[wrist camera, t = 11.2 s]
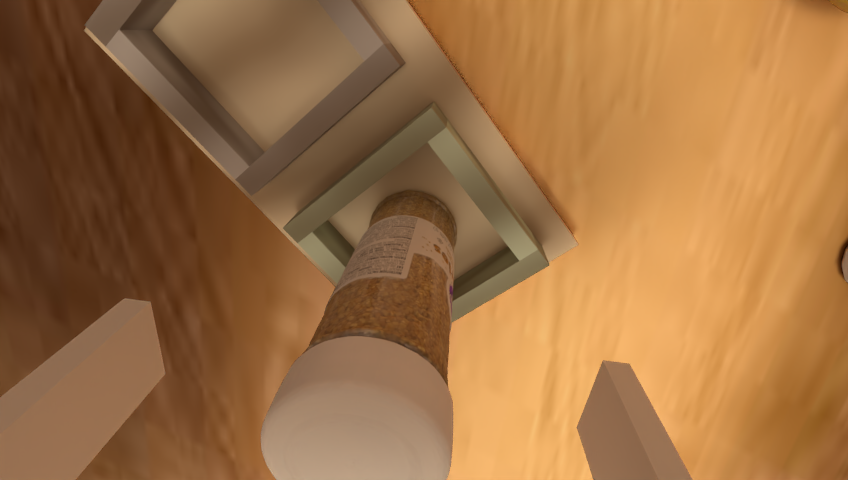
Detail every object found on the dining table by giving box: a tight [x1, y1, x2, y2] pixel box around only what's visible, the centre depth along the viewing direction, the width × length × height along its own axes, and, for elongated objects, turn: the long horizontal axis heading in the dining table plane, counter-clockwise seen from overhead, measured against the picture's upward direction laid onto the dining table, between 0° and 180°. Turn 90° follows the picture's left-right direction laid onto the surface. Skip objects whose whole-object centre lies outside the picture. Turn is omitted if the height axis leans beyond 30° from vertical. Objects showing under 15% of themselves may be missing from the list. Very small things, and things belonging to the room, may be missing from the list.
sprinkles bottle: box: [261, 190, 457, 480], centre depth 16 cm, size 5×5×13 cm
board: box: [84, 0, 578, 322], centre depth 20 cm, size 22×12×3 cm, turn 38°
